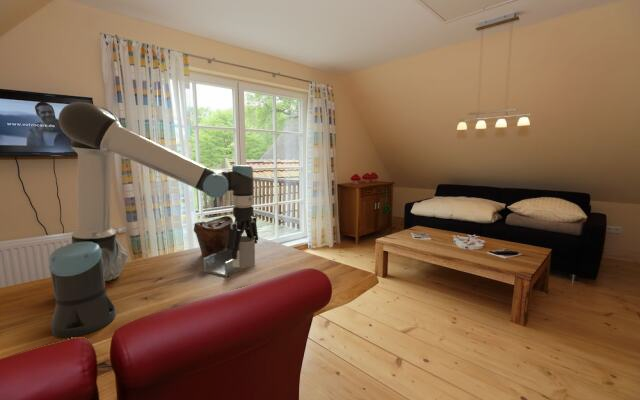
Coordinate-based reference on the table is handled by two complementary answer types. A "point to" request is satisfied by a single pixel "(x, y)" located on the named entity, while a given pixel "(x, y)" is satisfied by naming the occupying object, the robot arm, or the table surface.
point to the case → (213, 235)
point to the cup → (246, 251)
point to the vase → (116, 264)
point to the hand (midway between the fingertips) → (243, 262)
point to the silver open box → (220, 263)
